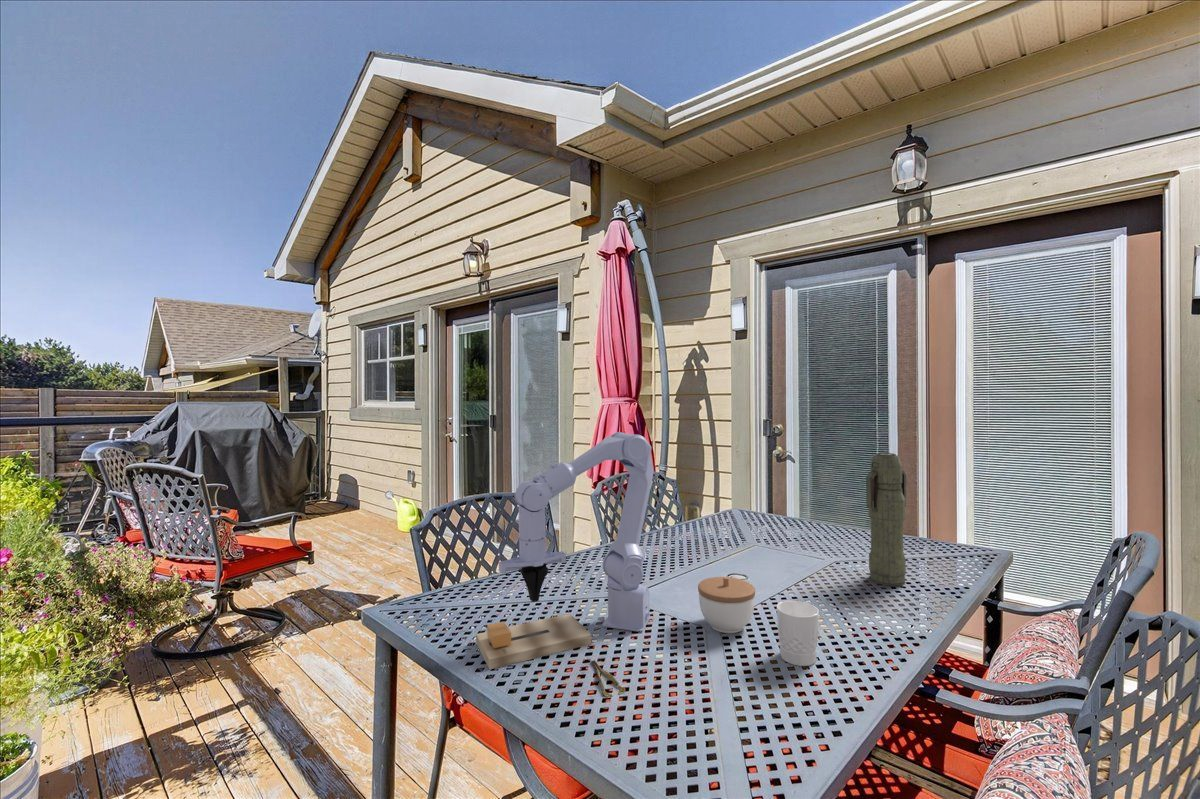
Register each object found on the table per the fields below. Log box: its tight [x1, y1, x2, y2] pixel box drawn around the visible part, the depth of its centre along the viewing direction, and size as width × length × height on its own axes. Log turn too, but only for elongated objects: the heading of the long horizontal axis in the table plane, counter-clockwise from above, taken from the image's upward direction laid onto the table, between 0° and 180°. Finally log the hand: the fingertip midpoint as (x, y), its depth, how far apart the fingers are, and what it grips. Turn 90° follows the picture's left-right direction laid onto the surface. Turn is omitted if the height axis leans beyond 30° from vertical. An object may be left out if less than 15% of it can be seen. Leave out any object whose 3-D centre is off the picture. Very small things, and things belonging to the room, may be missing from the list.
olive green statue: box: [865, 452, 907, 587], centre depth 145 cm, size 9×12×35 cm
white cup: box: [776, 600, 820, 667], centre depth 105 cm, size 8×8×10 cm
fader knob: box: [486, 621, 511, 648], centre depth 110 cm, size 4×6×2 cm, turn 26°
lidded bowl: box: [697, 576, 756, 634], centre depth 120 cm, size 13×13×11 cm
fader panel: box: [475, 613, 592, 670], centre depth 113 cm, size 22×12×2 cm, turn 115°
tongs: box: [590, 660, 626, 698], centre depth 99 cm, size 4×13×2 cm, turn 25°
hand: (534, 600), depth 113 cm, fingers closed
